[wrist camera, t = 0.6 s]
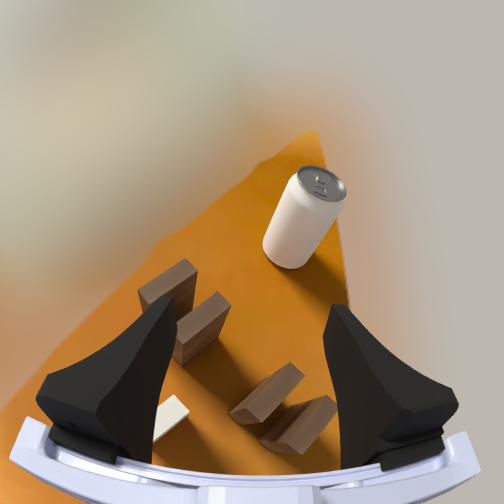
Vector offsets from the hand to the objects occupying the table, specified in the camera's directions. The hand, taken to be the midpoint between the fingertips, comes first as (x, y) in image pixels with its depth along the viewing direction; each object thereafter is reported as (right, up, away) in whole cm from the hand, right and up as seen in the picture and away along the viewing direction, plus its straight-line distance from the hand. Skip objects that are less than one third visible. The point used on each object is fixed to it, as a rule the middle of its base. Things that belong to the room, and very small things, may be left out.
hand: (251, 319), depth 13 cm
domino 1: (-9, -4, +16) cm, 18 cm away
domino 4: (0, -12, +12) cm, 17 cm away
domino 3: (-6, -6, +15) cm, 17 cm away
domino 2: (-8, -13, +9) cm, 18 cm away
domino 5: (+3, -14, +11) cm, 18 cm away
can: (+4, +3, +25) cm, 26 cm away
